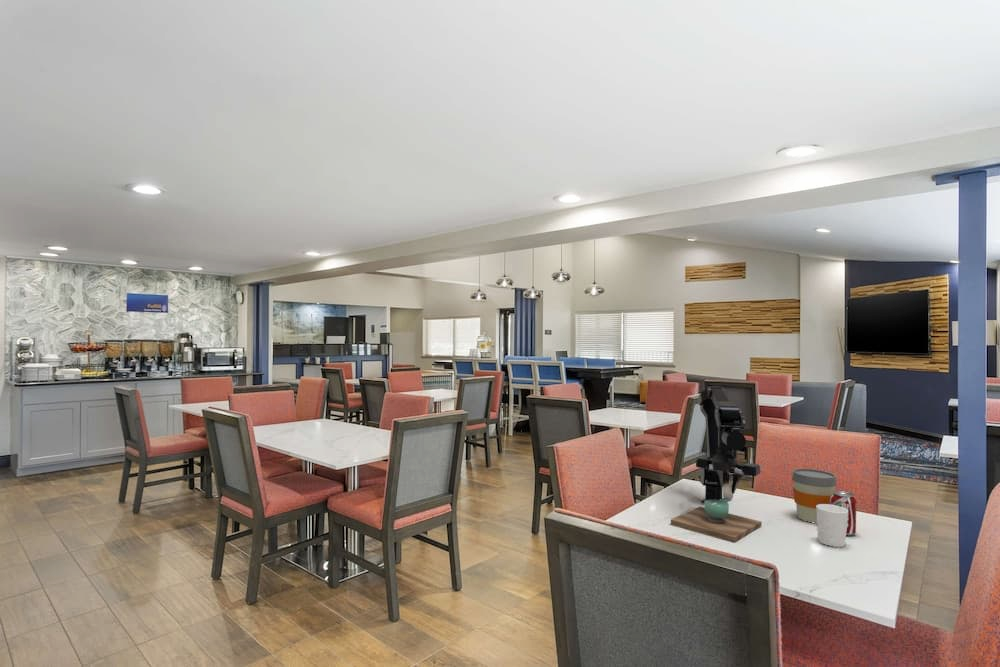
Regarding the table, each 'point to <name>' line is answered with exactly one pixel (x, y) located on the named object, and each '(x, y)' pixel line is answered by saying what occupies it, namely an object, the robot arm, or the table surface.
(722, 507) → the teal bulbous piece
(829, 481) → the reusable coffee cup
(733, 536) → the brown wooden cutting board
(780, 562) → the table surface
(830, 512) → the white cup
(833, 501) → the soda can
